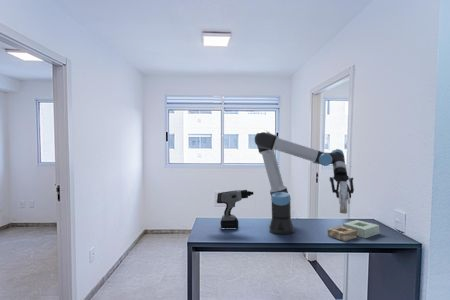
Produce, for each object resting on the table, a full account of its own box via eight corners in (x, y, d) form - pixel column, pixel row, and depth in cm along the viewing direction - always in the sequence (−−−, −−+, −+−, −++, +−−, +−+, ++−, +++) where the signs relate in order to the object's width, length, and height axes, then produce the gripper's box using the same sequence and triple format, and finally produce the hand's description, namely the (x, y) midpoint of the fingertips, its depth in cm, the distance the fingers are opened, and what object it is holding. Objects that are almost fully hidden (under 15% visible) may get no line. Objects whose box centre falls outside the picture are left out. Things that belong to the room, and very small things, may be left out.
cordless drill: (254, 229, 175) (253, 190, 175) (216, 229, 176) (215, 191, 175) (253, 225, 183) (252, 188, 183) (217, 226, 184) (216, 189, 183)
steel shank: (338, 212, 158) (338, 181, 158) (342, 211, 160) (342, 180, 160) (344, 213, 155) (344, 182, 154) (348, 212, 157) (348, 181, 156)
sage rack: (343, 231, 166) (343, 223, 166) (357, 227, 173) (357, 219, 173) (365, 238, 154) (364, 229, 154) (379, 233, 161) (378, 225, 161)
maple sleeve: (327, 235, 160) (327, 229, 160) (339, 232, 165) (339, 225, 165) (344, 241, 150) (344, 234, 150) (356, 237, 156) (356, 230, 156)
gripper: (353, 174, 170) (360, 206, 154) (324, 173, 174) (328, 205, 158) (355, 166, 164) (362, 199, 149) (325, 166, 169) (329, 198, 153)
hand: (344, 202), depth 153 cm, fingers closed on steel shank, 4 cm apart
